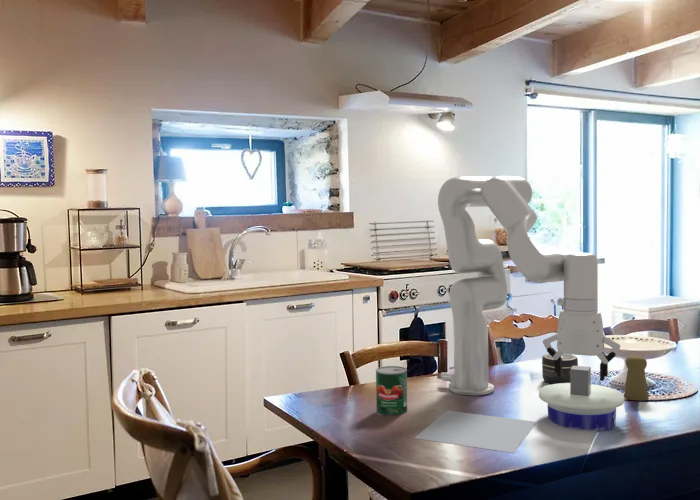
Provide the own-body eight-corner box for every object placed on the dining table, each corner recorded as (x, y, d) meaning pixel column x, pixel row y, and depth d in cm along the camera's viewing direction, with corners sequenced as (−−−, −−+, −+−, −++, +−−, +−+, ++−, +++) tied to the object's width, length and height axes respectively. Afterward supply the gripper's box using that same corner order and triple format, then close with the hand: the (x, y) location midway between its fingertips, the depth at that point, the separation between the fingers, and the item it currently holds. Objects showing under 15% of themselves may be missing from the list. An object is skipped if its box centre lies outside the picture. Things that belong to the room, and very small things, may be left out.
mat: (414, 440, 145) (414, 437, 145) (447, 413, 165) (447, 410, 164) (514, 455, 135) (514, 452, 135) (536, 424, 154) (536, 421, 154)
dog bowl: (555, 410, 166) (555, 386, 166) (620, 418, 158) (620, 393, 158) (540, 427, 153) (540, 402, 152) (610, 437, 145) (610, 411, 145)
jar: (558, 376, 198) (558, 351, 198) (585, 383, 190) (585, 357, 189) (534, 381, 193) (534, 355, 193) (561, 388, 185) (561, 362, 184)
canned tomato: (380, 418, 162) (379, 374, 161) (373, 409, 169) (372, 366, 169) (411, 415, 163) (410, 372, 162) (403, 406, 171) (402, 365, 170)
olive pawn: (651, 400, 171) (651, 359, 170) (626, 400, 172) (626, 358, 172) (645, 394, 177) (645, 354, 176) (621, 393, 178) (621, 353, 178)
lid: (531, 404, 151) (530, 373, 151) (547, 384, 168) (547, 356, 168) (620, 413, 142) (619, 381, 142) (627, 392, 159) (627, 363, 159)
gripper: (539, 305, 155) (540, 377, 156) (618, 309, 147) (618, 385, 147) (546, 301, 161) (546, 370, 162) (621, 305, 153) (621, 377, 154)
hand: (580, 377), depth 155 cm, fingers open, 9 cm apart
